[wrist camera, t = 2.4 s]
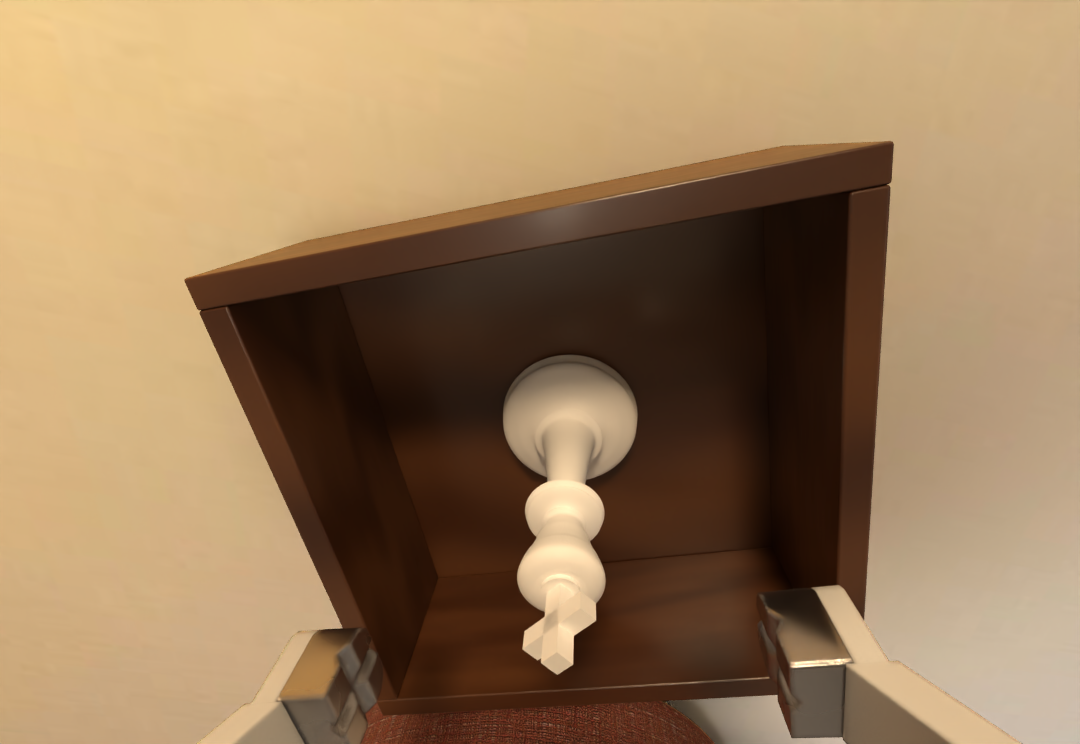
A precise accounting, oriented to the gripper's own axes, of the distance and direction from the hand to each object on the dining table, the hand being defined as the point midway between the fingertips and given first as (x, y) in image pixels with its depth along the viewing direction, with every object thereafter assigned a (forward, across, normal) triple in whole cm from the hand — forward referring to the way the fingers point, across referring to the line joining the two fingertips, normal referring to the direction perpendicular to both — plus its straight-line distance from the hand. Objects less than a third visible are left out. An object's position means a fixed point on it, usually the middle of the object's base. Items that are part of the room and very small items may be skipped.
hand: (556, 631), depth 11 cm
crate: (+10, 0, 0) cm, 10 cm away
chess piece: (+9, 0, 0) cm, 9 cm away
